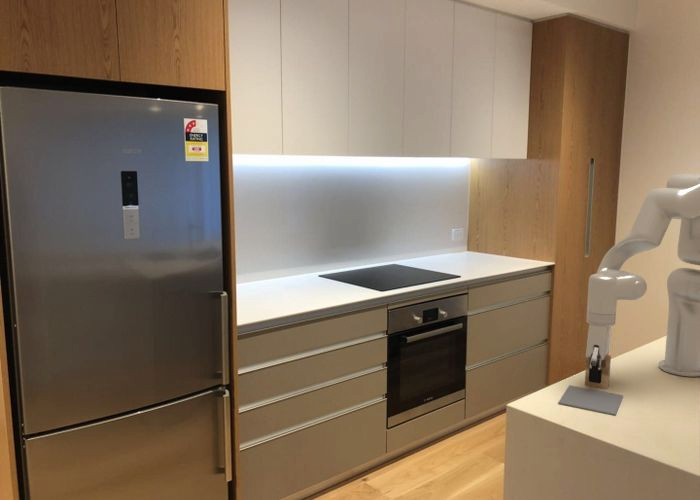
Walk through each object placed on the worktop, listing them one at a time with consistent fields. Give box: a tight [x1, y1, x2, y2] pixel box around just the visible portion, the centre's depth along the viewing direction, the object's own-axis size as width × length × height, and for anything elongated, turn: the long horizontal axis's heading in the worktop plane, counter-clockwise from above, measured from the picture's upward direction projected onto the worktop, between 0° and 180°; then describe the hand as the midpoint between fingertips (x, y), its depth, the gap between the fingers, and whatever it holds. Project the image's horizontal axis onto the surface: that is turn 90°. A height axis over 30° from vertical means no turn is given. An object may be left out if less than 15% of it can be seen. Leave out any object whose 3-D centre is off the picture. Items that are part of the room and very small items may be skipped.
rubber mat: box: [557, 384, 624, 416], centre depth 157 cm, size 14×14×1 cm
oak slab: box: [584, 354, 612, 390], centre depth 167 cm, size 3×6×9 cm, turn 58°
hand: (597, 377), depth 167 cm, fingers open, 7 cm apart
